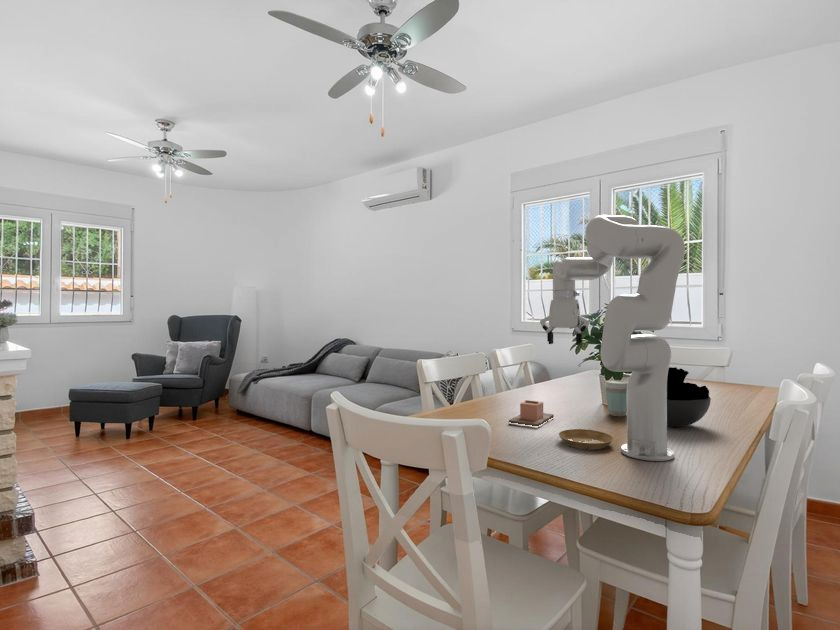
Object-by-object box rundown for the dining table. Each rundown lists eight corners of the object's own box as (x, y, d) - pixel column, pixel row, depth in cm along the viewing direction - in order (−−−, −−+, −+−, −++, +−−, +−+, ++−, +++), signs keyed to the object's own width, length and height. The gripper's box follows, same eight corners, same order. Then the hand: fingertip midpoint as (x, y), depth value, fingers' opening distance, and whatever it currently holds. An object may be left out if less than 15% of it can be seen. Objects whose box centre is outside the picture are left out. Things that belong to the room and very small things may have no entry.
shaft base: (537, 428, 147) (537, 413, 147) (508, 424, 153) (508, 409, 153) (553, 418, 161) (553, 404, 161) (526, 415, 166) (526, 401, 166)
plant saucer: (618, 442, 132) (618, 433, 132) (606, 456, 120) (606, 446, 120) (567, 435, 140) (567, 426, 140) (551, 447, 128) (551, 438, 128)
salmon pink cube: (537, 420, 153) (537, 403, 153) (520, 417, 156) (520, 401, 156) (543, 416, 158) (543, 400, 157) (526, 414, 161) (526, 398, 161)
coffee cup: (634, 417, 161) (634, 383, 161) (610, 417, 161) (609, 383, 161) (624, 411, 170) (623, 379, 169) (601, 412, 170) (600, 380, 170)
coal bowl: (691, 418, 158) (691, 364, 158) (724, 434, 138) (723, 372, 138) (631, 418, 160) (631, 364, 160) (655, 433, 140) (655, 372, 140)
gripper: (592, 295, 158) (592, 344, 158) (543, 296, 168) (544, 342, 168) (586, 294, 152) (587, 345, 152) (536, 296, 162) (536, 344, 162)
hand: (564, 344), depth 160 cm, fingers open, 9 cm apart
